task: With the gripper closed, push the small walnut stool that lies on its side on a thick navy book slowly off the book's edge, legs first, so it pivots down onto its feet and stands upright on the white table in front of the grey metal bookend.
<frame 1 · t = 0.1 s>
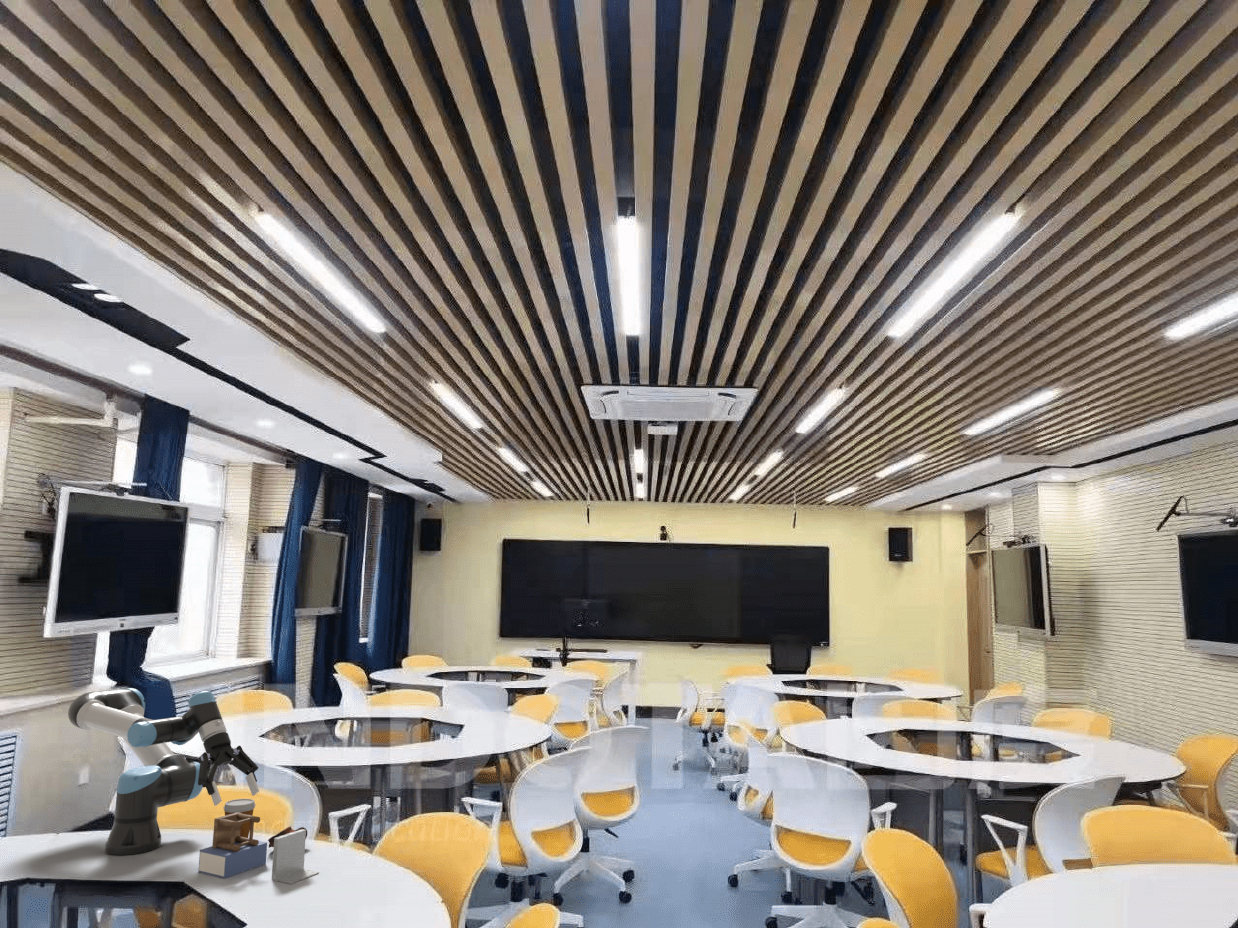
hand: (237, 798, 261), 15 cm above the table, tool tilted 35°, fingers open, 13 cm apart
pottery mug: (288, 851, 259), on the table
bookend: (287, 874, 238), on the table
stool: (225, 829, 246), point 10 cm above the table, touching book
book: (232, 867, 243), on the table
disposable coffee cup: (236, 841, 268), on the table
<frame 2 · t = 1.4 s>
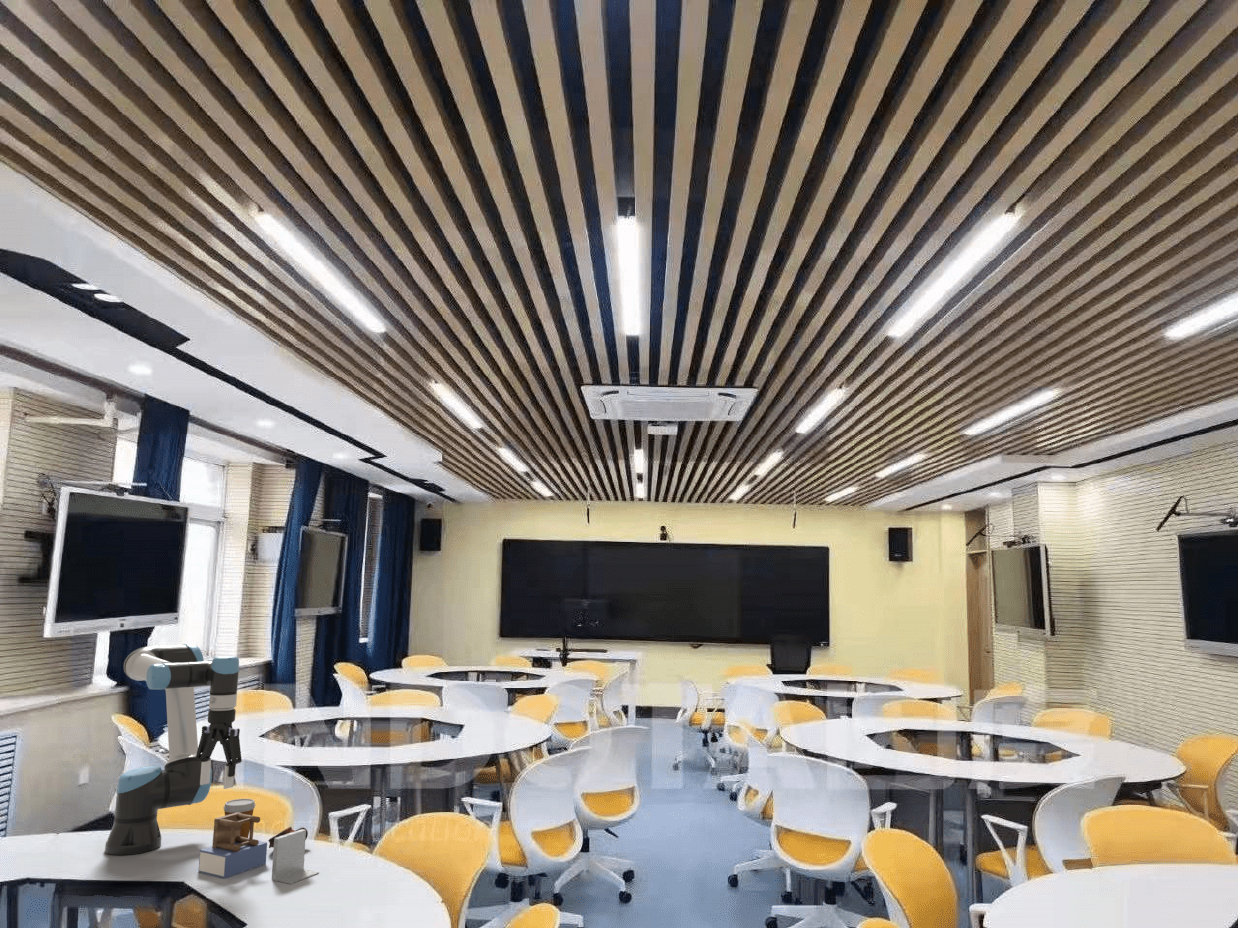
hand: (216, 785, 250), 22 cm above the table, tool pointing down, fingers open, 10 cm apart
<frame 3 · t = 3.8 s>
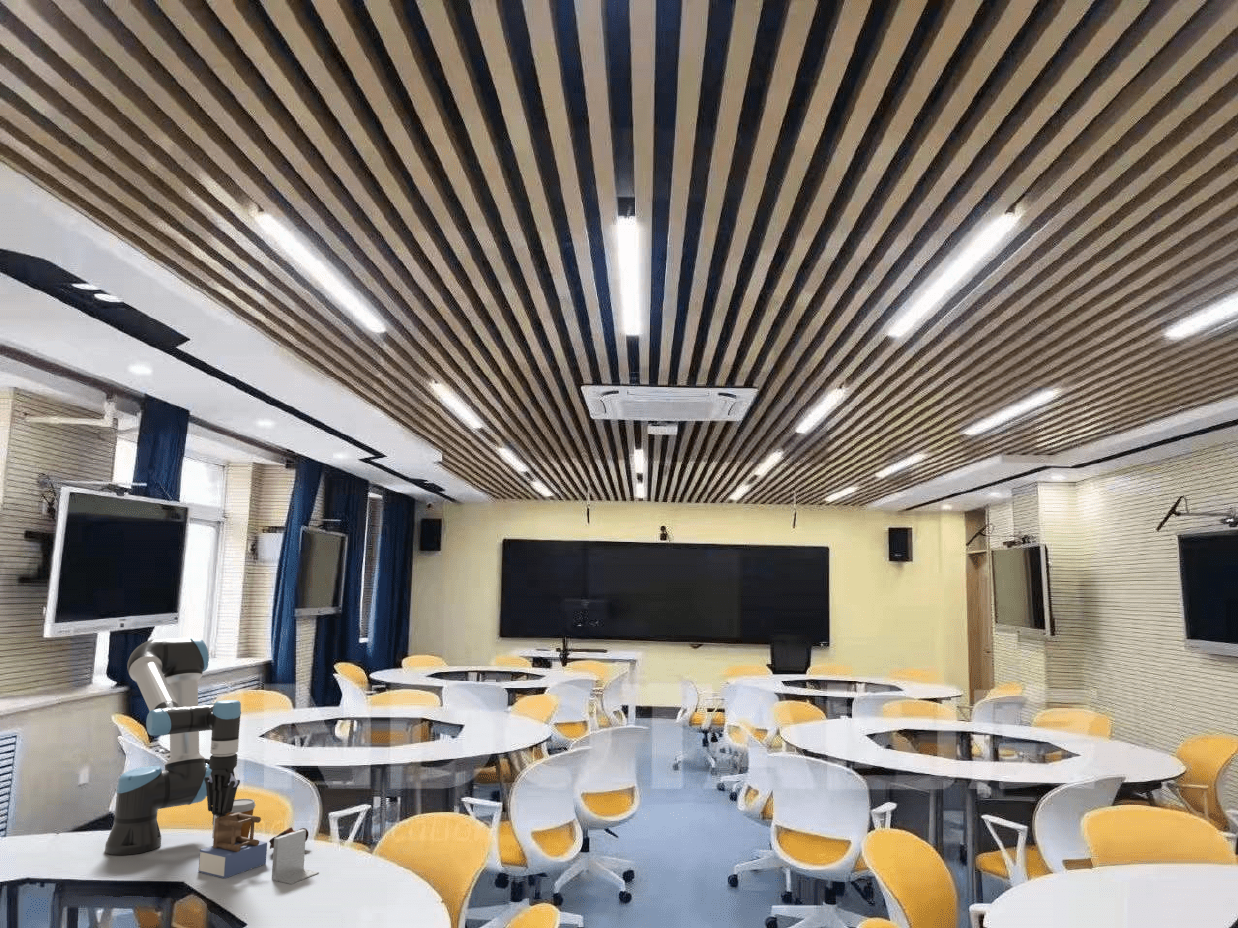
hand: (217, 837, 247), 7 cm above the table, tool pointing down, fingers closed
stool: (225, 829, 246), point 10 cm above the table, touching gripper
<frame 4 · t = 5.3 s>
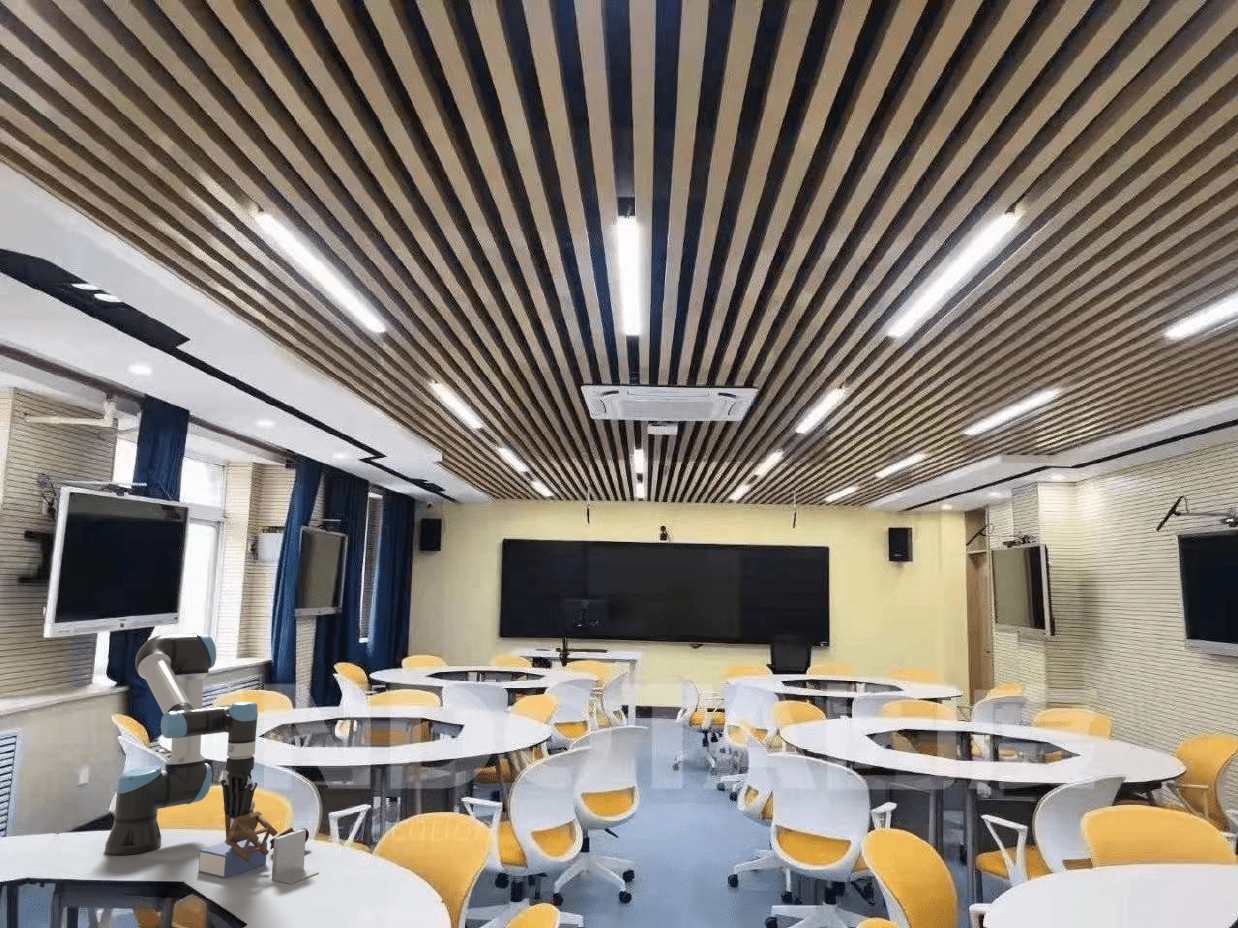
hand: (234, 840, 244), 7 cm above the table, tool pointing down, fingers closed
stool: (241, 826, 243), point 12 cm above the table, tilted 27°, touching book, gripper
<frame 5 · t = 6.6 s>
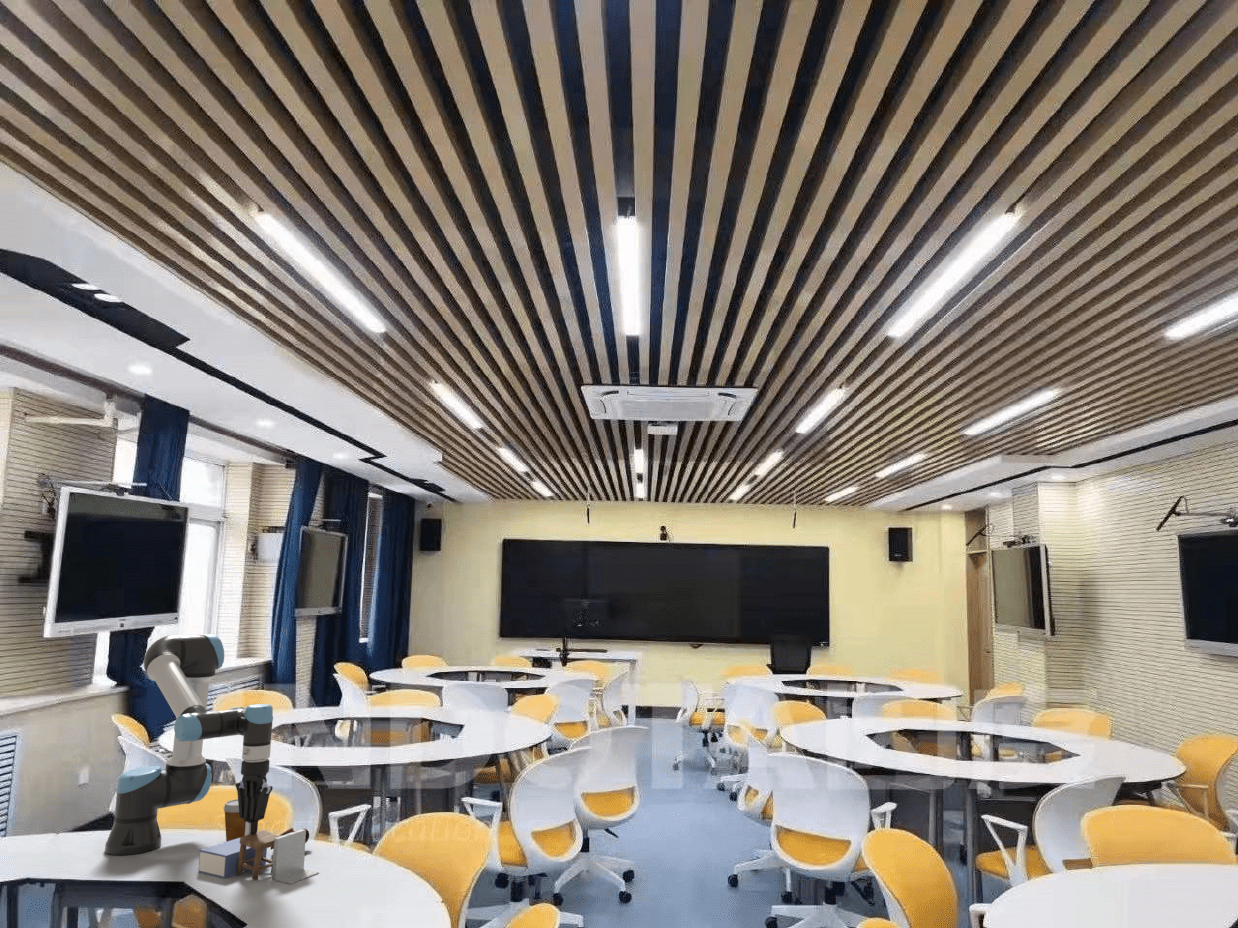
hand: (249, 844, 241), 7 cm above the table, tool pointing down, fingers closed
stool: (261, 837, 239), point 10 cm above the table, tilted 96°, touching gripper
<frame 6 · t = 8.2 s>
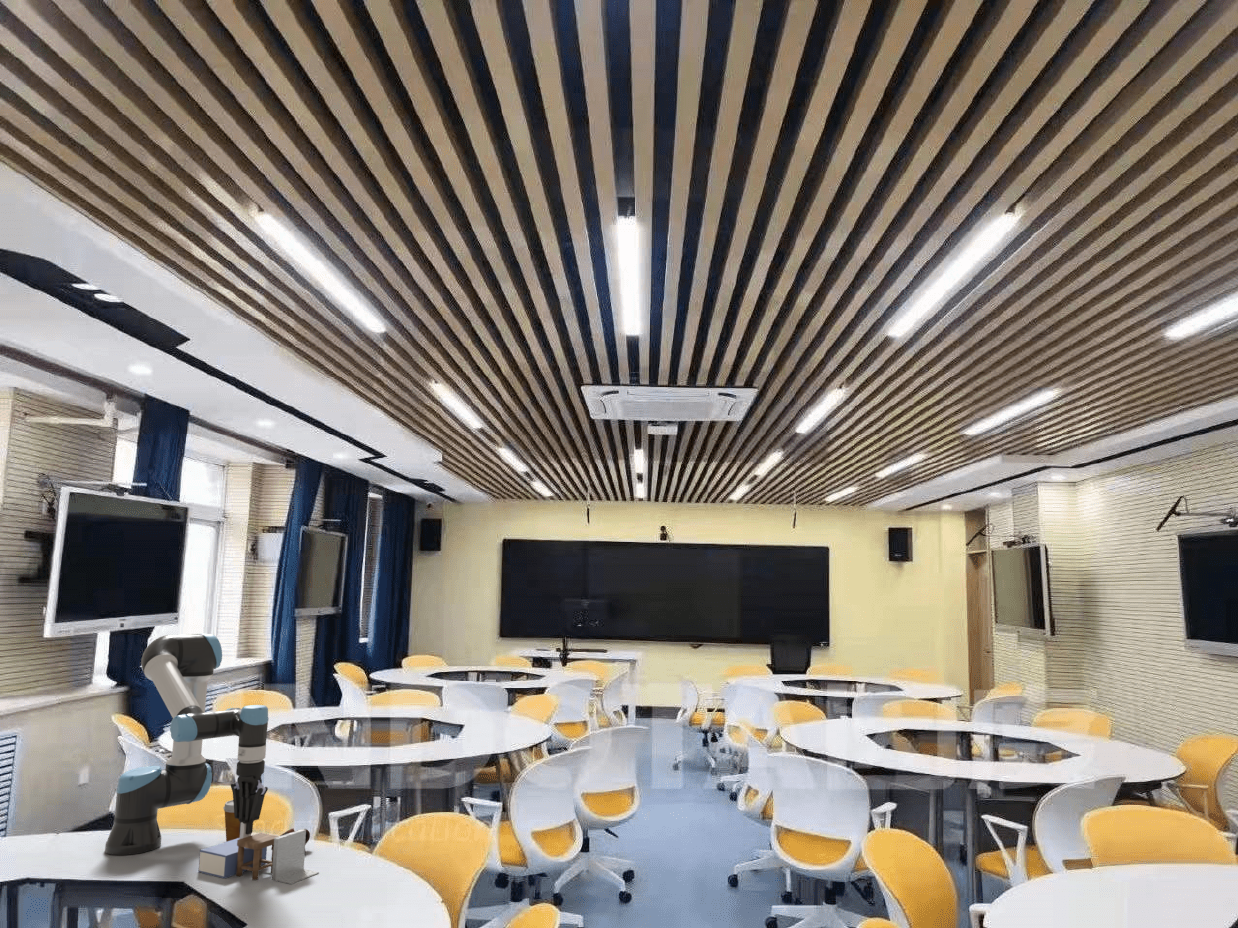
hand: (244, 845, 242), 7 cm above the table, tool pointing down, fingers closed
stool: (259, 838, 240), point 10 cm above the table, tilted 90°
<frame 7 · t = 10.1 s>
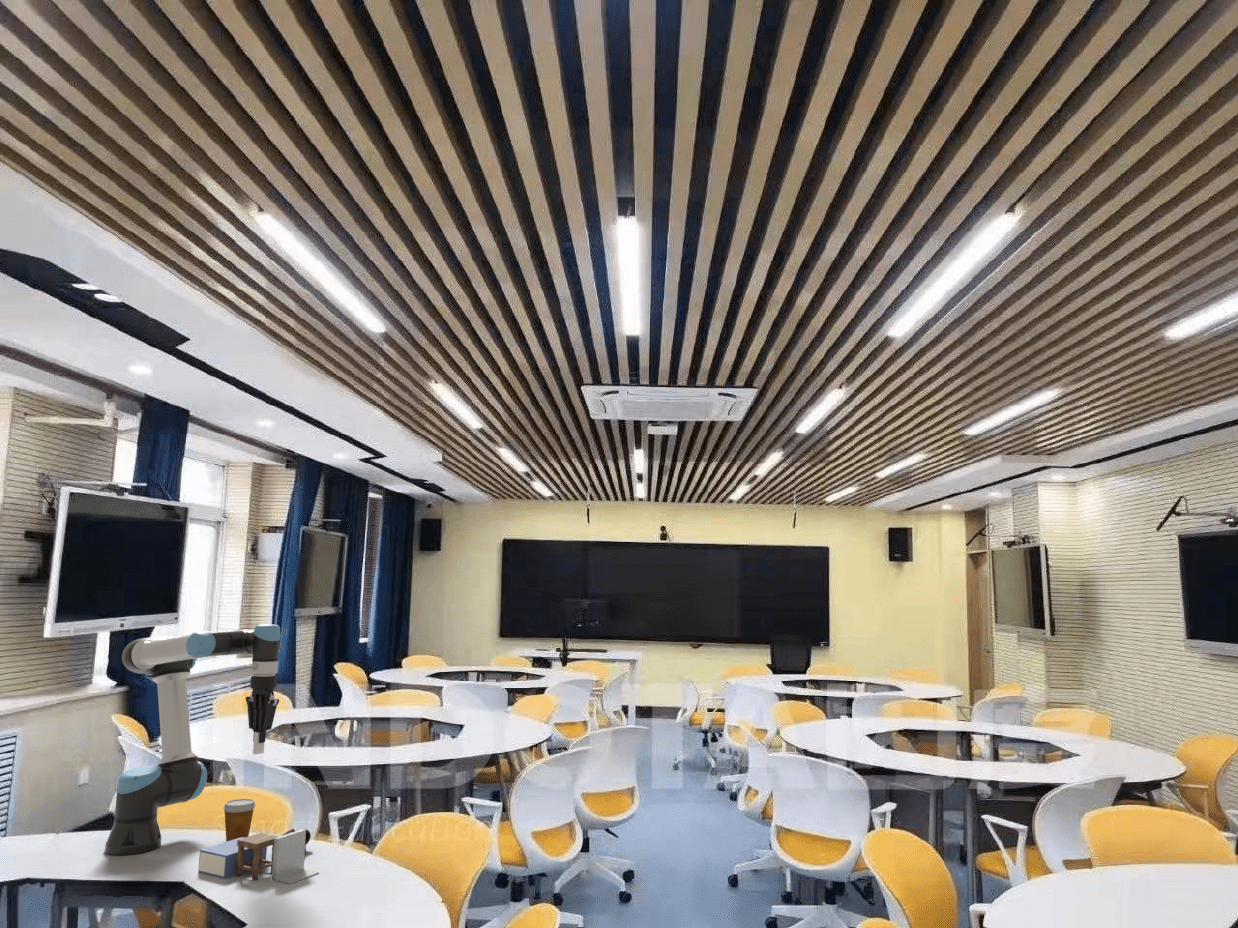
hand: (258, 753, 258), 30 cm above the table, tool pointing down, fingers closed
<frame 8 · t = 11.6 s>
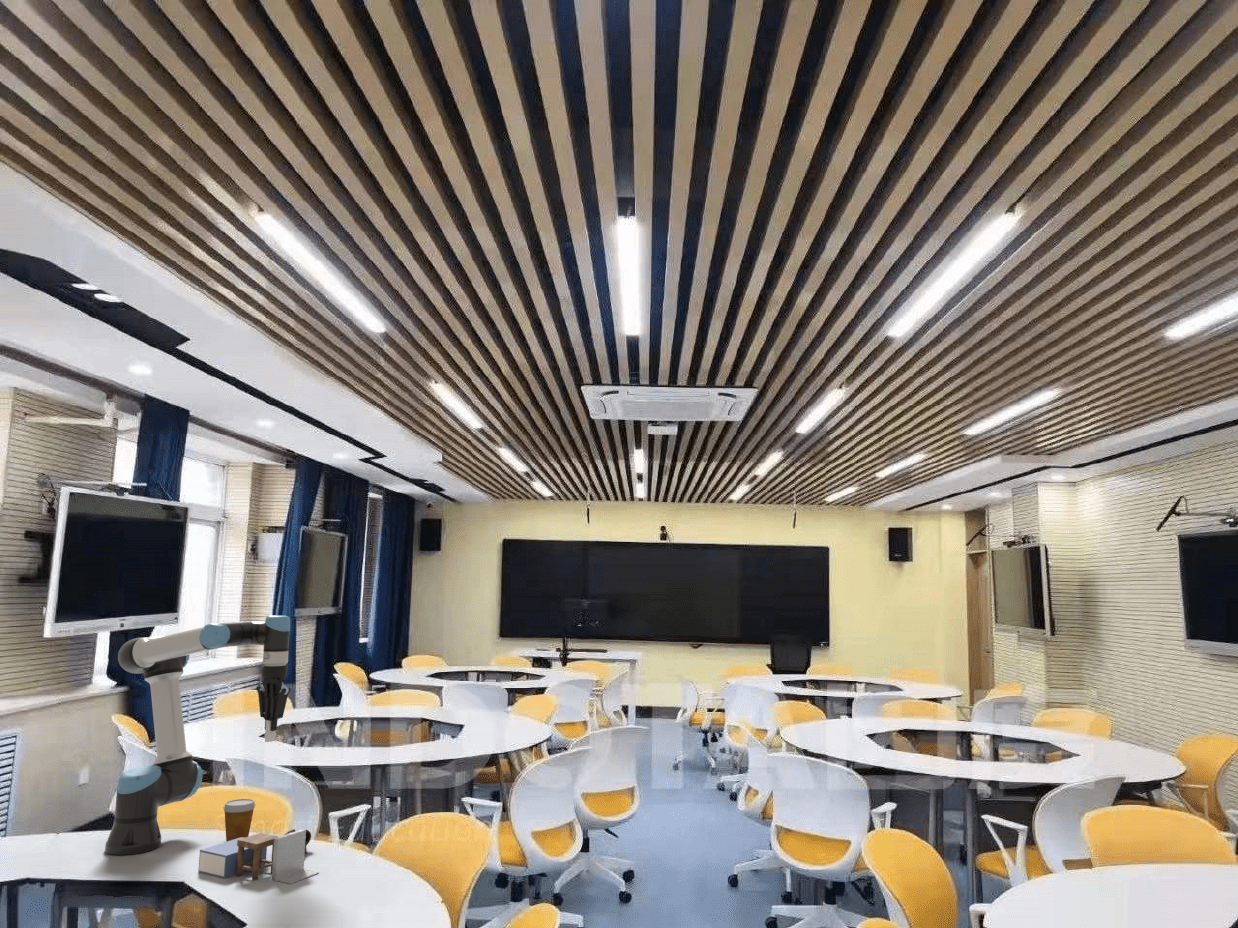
hand: (269, 741, 265), 32 cm above the table, tool pointing down, fingers closed
at the end: stool inside the target area (5.4 cm from its centre), point 9.6 cm above the table; stool touching table; stool tilted 90° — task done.
